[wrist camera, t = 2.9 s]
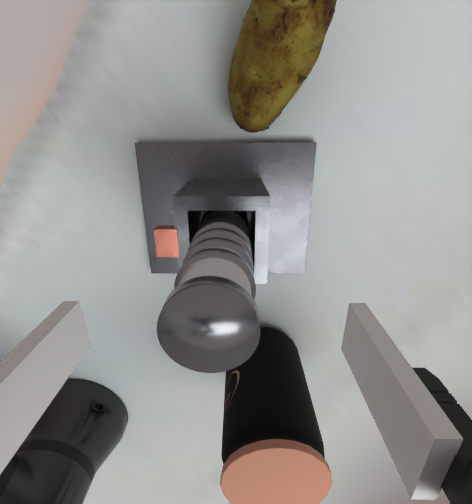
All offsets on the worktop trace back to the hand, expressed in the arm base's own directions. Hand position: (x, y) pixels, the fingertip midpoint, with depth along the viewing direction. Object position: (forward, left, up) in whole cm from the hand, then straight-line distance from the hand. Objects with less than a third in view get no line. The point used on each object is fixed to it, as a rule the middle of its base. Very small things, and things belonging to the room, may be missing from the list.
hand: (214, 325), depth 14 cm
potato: (+4, +15, -23) cm, 28 cm away
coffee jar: (+5, -22, -23) cm, 33 cm away
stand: (0, 0, -23) cm, 23 cm away
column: (0, 0, -22) cm, 22 cm away
